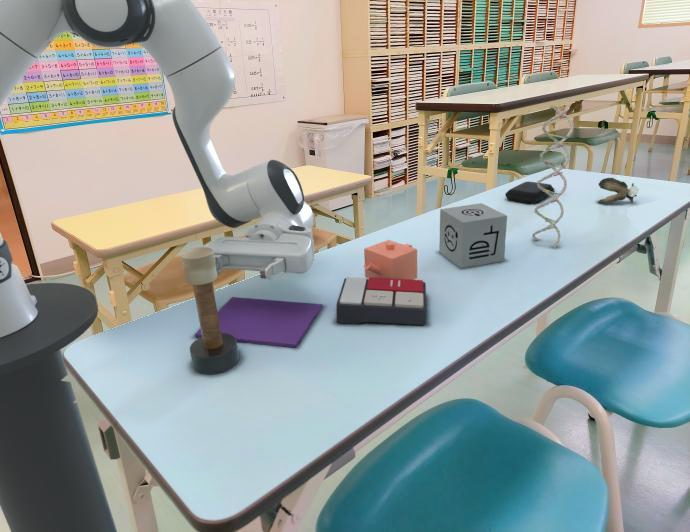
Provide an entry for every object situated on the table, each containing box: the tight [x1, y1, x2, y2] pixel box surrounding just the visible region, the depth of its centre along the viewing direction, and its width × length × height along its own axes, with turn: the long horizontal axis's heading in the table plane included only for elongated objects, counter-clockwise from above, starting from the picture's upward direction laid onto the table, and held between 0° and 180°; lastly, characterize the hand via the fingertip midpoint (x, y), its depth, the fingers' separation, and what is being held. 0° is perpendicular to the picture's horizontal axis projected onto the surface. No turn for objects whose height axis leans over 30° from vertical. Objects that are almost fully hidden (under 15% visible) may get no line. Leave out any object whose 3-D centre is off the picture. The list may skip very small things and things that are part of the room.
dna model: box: [531, 104, 574, 249], centre depth 112 cm, size 7×6×30 cm
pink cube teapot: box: [363, 239, 418, 280], centre depth 101 cm, size 8×12×8 cm, turn 130°
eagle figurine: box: [597, 177, 640, 205], centre depth 142 cm, size 8×7×9 cm
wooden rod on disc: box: [180, 246, 240, 375], centre depth 76 cm, size 7×7×18 cm
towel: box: [194, 296, 323, 348], centre depth 91 cm, size 18×14×1 cm
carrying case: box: [504, 181, 556, 204], centre depth 151 cm, size 11×3×15 cm
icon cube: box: [438, 202, 508, 270], centre depth 111 cm, size 10×10×10 cm
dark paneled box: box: [336, 276, 427, 326], centre depth 92 cm, size 11×4×15 cm
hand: (237, 272), depth 85 cm, fingers open, 8 cm apart
